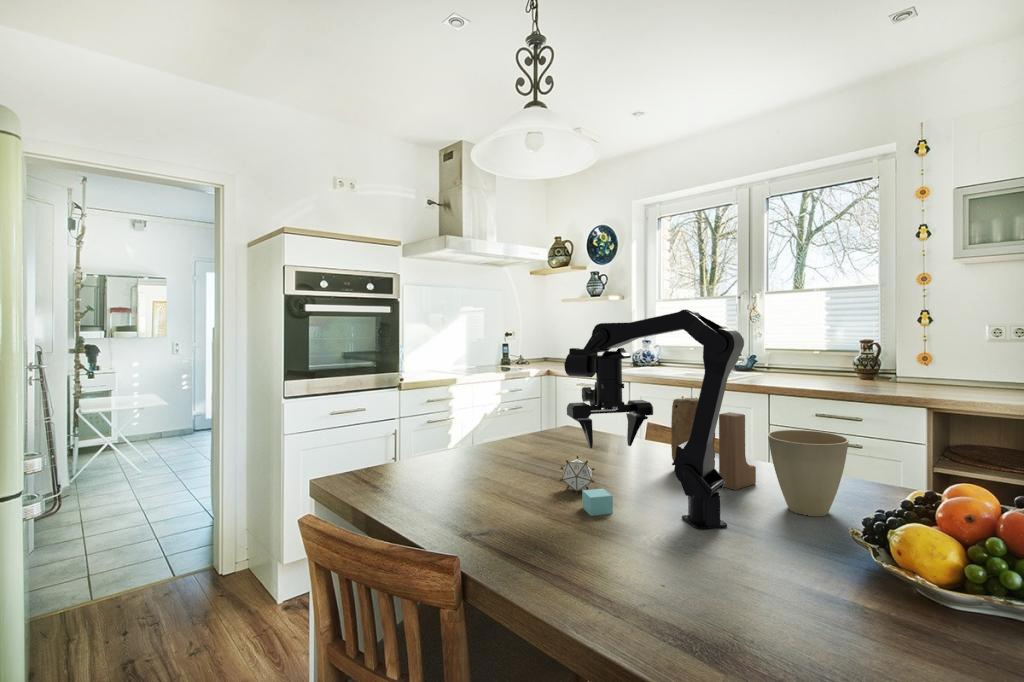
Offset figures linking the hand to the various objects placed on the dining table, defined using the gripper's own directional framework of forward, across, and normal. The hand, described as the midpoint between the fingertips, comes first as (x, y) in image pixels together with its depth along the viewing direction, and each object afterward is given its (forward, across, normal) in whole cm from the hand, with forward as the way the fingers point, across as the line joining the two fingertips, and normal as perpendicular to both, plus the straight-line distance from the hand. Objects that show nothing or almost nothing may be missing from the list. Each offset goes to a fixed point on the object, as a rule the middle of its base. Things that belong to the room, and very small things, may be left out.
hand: (610, 446), depth 116 cm
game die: (+13, +5, -9) cm, 16 cm away
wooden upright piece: (+13, -30, -18) cm, 38 cm away
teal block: (+13, +5, +5) cm, 14 cm away
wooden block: (+13, -35, -5) cm, 38 cm away
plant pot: (+13, -39, +14) cm, 43 cm away
